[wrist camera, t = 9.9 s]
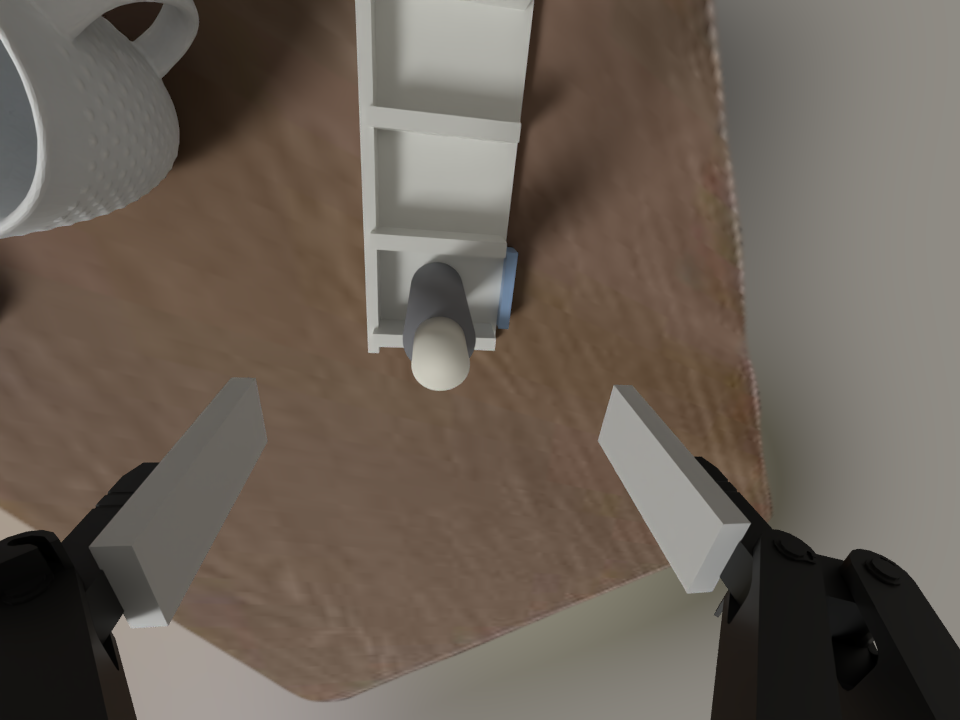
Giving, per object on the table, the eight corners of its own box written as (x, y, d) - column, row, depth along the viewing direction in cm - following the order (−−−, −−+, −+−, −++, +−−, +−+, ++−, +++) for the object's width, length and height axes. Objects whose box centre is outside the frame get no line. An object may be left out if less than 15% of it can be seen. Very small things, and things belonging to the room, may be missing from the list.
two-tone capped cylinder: (410, 260, 30) (398, 326, 18) (464, 263, 30) (485, 328, 19) (410, 311, 32) (399, 400, 20) (461, 313, 32) (478, 401, 21)
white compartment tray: (361, -56, 23) (348, -95, 19) (546, -24, 24) (567, -55, 21) (373, 336, 33) (366, 358, 30) (501, 341, 35) (509, 362, 31)
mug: (154, -99, 21) (-181, -408, 9) (301, 115, 26) (199, 85, 14) (-40, 71, 23) (-508, -11, 12) (131, 239, 28) (-78, 300, 16)
